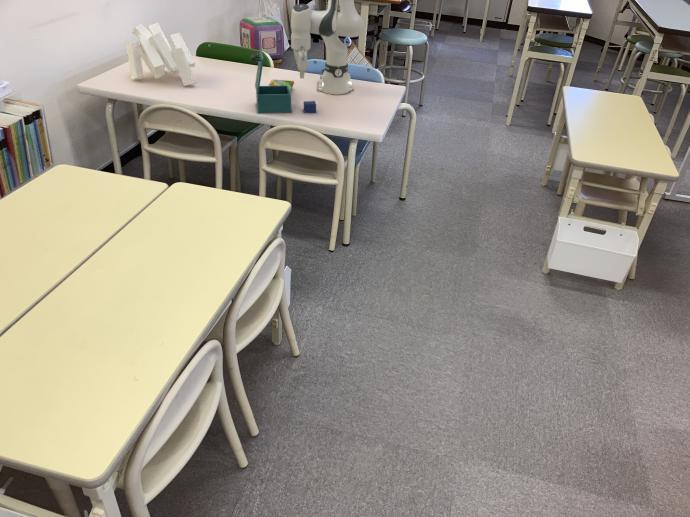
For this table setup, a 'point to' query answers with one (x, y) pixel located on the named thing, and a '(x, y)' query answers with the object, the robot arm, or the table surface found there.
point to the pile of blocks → (159, 54)
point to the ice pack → (309, 107)
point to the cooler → (273, 99)
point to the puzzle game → (282, 83)
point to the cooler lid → (258, 69)
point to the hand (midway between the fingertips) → (300, 74)
